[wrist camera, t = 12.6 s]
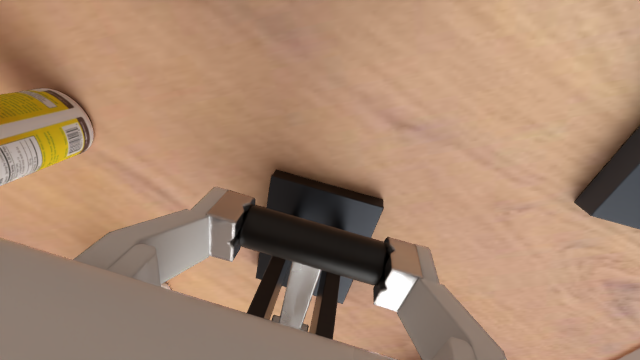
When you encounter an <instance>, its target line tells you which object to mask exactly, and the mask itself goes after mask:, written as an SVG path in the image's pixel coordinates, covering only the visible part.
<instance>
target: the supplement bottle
mask: <svg viewBox="0 0 640 360" xmlns="http://www.w3.org/2000/svg"><path fill="white" fill-rule="evenodd" d="M93 138H94V133H93V127H92V124H91V122H90V120H89V118H88V116H87V115H86V113H85V112H84V110H83V109H82V108H81V107H80V106H79V105H78V104H77V103H76V102H75V101H74V100H73V99H71V98H70V97H68V96H67V95H65V94H63V93H61V92H59V91H56V90H53V89H47V88H40V89H33V90H26V91H20V92H14V93H8V94H2V95H0V186H1V185H4V184H6V183H9V182H11V181H14V180H16V179H19V178H21V177H24V176H26V175H29V174H31V173H34V172H36V171H39V170H41V169H43V168H46V167H48V166H51V165H53V164H55V163H58V162H60V161H63V160H65V159H68V158H70V157H73V156H75V155H78V154H80V153H82V152H84V151H86V150H87V149H88V148H89V147H90V146H91V144H92V142H93Z"/></svg>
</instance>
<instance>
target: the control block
mask: <svg viewBox="0 0 640 360" xmlns="http://www.w3.org/2000/svg"><path fill="white" fill-rule="evenodd" d="M575 203H576V204H577V205H578V206H579V207H581V208H582V209H583V210H584V211H586V212H587V213H588V214H589V215H590V216H593V217H597V218H601V219H604V220H608V221H612V222H615V223H619V224H622V225H626V226H630V227H633V228H637V229H640V126H639V127H638V129H637V130H636V131H635V132H634V133H633V134H632V136H631V137H630V138H629V139H628V140H627V141H626V143H625V144H624V145H623V146H622V147H621V148H620V149H619V151H618V152H617V153H616V154H615V155H614V156H613V158H612V159H611V160H610V161H609V162H608V163H607V165H606V166H605V167H604V168H603V169H602V170H601V172H600V173H599V174H598V175H597V176H596V177H595V178H594V180H593V181H592V182H591V183H590V184H589V185H588V187H587V188H586V189H585V190H584V191H583V192H582V194H581V195H580V196H579V197H578V198H577V199H576V201H575Z"/></svg>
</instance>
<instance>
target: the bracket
mask: <svg viewBox="0 0 640 360" xmlns="http://www.w3.org/2000/svg"><path fill="white" fill-rule="evenodd" d="M266 208H268V209H272V210H275V211H279V212H282V213H286V214H289V215H293V216H296V217H299V218H303V219H306V220H310V221H313V222H317V223H320V224H324V225H327V226H331V227H334V228H338V229H341V230H345V231H348V232H352V233H355V234H359V235H362V236H366V237H369V238H371V236H372V234H373V232H374V229H375V227H376V225H377V222H378V220H379V218H380V215H381V213H382V211H383V208H384V207H383V200H382V199H378V198H375V197H371V196H368V195H364V194H361V193H357V192H354V191H350V190H347V189H343V188H339V187H336V186H332V185H329V184H325V183H322V182H318V181H315V180H311V179H308V178H304V177H300V176H297V175H293V174H290V173H286V172H283V171H279V170H275V172H274V173H273V174H272V176H271V181H270V187H269V194H268V201H267V207H266ZM291 266H292V261H289V260H285V259H282V258H279V257H275V256H272V255H268V254H265V253H262V252H260V254H259V260H258V267H257V273H256V278H257V279H261V282H260V285H259V287H258V289H257V291H256V294H255V296H254V298H253V300H252V303H251V305H250V307H249V309H248V312H247V313H248V314H251V315H254V316H257V317H261V318H264V319H267V320H270V317H271V314H272V311H273V309H274V306H275V303H276V300H277V297H278V295H279V292H280V289H281V286H284V287H287V284H288V279H289V275H290V270H291ZM352 281H353V279H350V278H347V277H343V276H340V275H336V274H333V273H330V272H326V271H323V270H321V272H320V275H319V278H318V281H317V284H316V287H315V289H314V292H313V295H314V296H317V297H316V302H315V306H314V311H313V316H312V321H311V326H310V331H309V333H313V334H316V335H319V336H322V337H326V338H329V339H332V340H333V332H334V324H335V316H336V308H337V302H338V303H341V304H343V302H344V300H345V297H346V295H347V293H348V290H349V288H350V286H351V283H352Z"/></svg>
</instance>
